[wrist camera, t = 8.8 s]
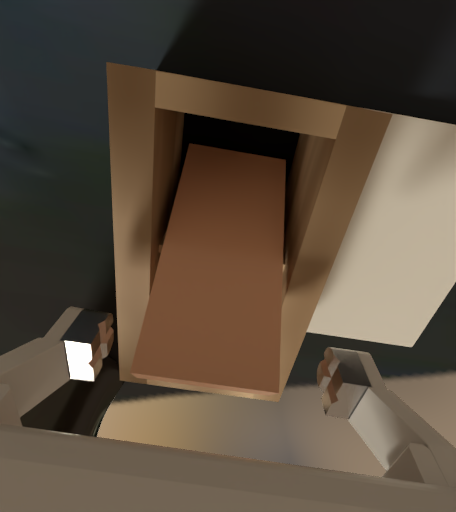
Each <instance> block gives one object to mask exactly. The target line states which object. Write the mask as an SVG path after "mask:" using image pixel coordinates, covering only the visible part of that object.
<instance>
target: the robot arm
mask: <svg viewBox="0 0 456 512" xmlns="http://www.w3.org/2000/svg"><path fill="white" fill-rule="evenodd" d="M112 323H113V315H112V314H111V313H106V312H100V311H94V310H89V309H81V308H76V307H69V308H68V309H66V311H65V312H64V313H63V314H62V315H61V317H60V318H59V319H58V320H57V322H56V323H55V324H54V325H53V327H52V328H51V329H50V330H49V331H48V333H47V334H46V335H45V336H44V338H37V339H35V340H33V341H31V342H29V343H27V344H24V345H22V346H20V347H18V348H16V349H14V350H12V351H10V352H8V353H6V354H4V355H2V356H0V512H456V448H455V447H453V445H451V444H450V443H449V442H448V441H447V440H446V439H445V438H444V437H442V436H441V435H440V434H439V433H438V432H437V431H436V430H435V429H434V428H432V427H431V426H430V425H429V424H428V423H427V422H426V421H425V420H423V419H422V418H421V417H420V416H419V415H418V414H417V413H416V412H414V411H413V410H412V409H411V408H410V407H409V406H408V405H407V404H406V403H405V402H403V401H402V400H401V399H400V398H399V397H398V396H397V395H396V394H394V393H393V392H392V391H390V390H387V388H386V386H385V384H384V382H383V380H382V378H381V376H380V374H379V371H378V369H377V367H376V365H375V363H374V361H373V359H372V357H371V355H370V354H369V353H368V352H361V351H353V350H346V349H339V348H332V347H328V348H327V349H326V351H325V353H324V356H325V359H324V360H323V361H321V362H320V364H319V366H318V370H317V382H318V387H319V388H320V389H321V391H322V392H323V393H324V394H323V396H322V398H321V399H322V403H323V407H324V411H325V415H327V416H332V417H338V418H344V419H349V422H350V423H351V425H352V426H353V427H354V429H355V430H356V431H357V433H358V434H359V435H360V437H361V438H362V439H363V441H364V442H365V443H366V445H367V446H368V447H369V449H370V450H371V451H372V453H373V454H374V455H375V457H376V458H377V459H378V460H379V462H380V463H381V465H382V466H383V467H384V468H385V470H386V473H385V474H384V475H383V476H382V477H377V476H370V475H363V474H356V473H349V472H342V471H335V470H327V469H320V468H313V467H305V466H299V465H291V464H284V463H277V462H270V461H263V460H256V459H249V458H241V457H234V456H227V455H220V454H213V453H206V452H198V451H192V450H185V449H178V448H170V447H163V446H156V445H149V444H142V443H135V442H128V441H120V440H114V439H107V438H99V437H92V436H85V435H78V434H71V433H64V432H57V431H50V430H43V429H36V428H28V427H23V426H22V423H21V420H20V417H21V416H23V415H24V414H25V413H27V412H28V411H29V410H30V409H32V408H33V407H34V406H36V405H37V404H38V403H40V402H41V401H42V400H44V399H45V398H46V397H48V396H49V395H50V394H52V393H53V392H54V391H56V390H57V389H58V388H60V387H61V386H62V385H64V384H65V383H66V382H67V381H69V380H70V379H79V380H87V381H95V379H96V377H97V375H98V373H99V371H100V369H101V368H102V359H103V358H105V357H106V356H108V354H109V352H110V350H111V347H112V344H113V339H114V330H113V329H112V328H111V325H112ZM69 378H70V379H69Z"/></svg>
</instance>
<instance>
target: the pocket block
mask: <svg viewBox="0 0 456 512" xmlns="http://www.w3.org/2000/svg"><path fill="white" fill-rule="evenodd" d="M107 86H108V110H109V134H110V158H111V182H112V206H113V230H114V254H115V278H116V302H117V326H118V350H119V374H120V380H121V381H128V382H136V383H143V384H150V385H158V386H165V387H172V388H180V389H187V390H194V391H202V392H209V393H216V394H224V395H231V396H238V397H246V398H253V399H260V400H269V401H275V402H279V399H280V397H281V394H282V392H283V389H284V387H285V384H286V382H287V379H288V377H289V374H290V372H291V369H292V367H293V364H294V362H295V359H296V357H297V354H298V352H299V349H300V347H301V344H302V341H303V339H304V336H305V334H306V331H307V329H308V326H309V324H310V321H311V319H312V316H313V314H314V311H315V309H316V306H317V304H318V301H319V299H320V296H321V294H322V291H323V289H324V286H325V284H326V281H327V279H328V276H329V273H330V271H331V268H332V266H333V263H334V261H335V258H336V256H337V253H338V251H339V248H340V246H341V243H342V241H343V238H344V236H345V233H346V231H347V228H348V226H349V223H350V221H351V218H352V216H353V213H354V210H355V208H356V205H357V203H358V200H359V198H360V195H361V193H362V190H363V188H364V185H365V183H366V180H367V178H368V175H369V173H370V170H371V168H372V165H373V163H374V160H375V158H376V155H377V153H378V150H379V148H380V145H381V142H382V140H383V137H384V135H385V132H386V130H387V127H388V125H389V122H390V120H391V117H392V115H393V114H389V113H384V112H379V111H374V110H369V109H364V108H359V107H353V106H348V105H343V104H338V103H333V102H327V101H322V100H316V99H311V98H305V97H300V96H294V95H289V94H284V93H278V92H273V91H267V90H262V89H256V88H251V87H245V86H240V85H234V84H229V83H223V82H218V81H212V80H207V79H201V78H196V77H190V76H185V75H179V74H174V73H168V72H163V71H157V70H151V69H145V68H139V67H133V66H127V65H121V64H115V63H109V62H107ZM184 113H190V114H196V115H201V116H207V117H212V118H218V119H224V120H229V121H235V122H241V123H246V124H252V125H258V126H263V127H269V128H275V129H280V130H286V131H292V132H297V133H300V135H299V139H298V143H297V147H296V151H295V154H294V158H293V162H292V166H291V170H290V173H289V177H288V181H287V185H286V189H285V209H284V243H283V277H282V311H281V345H280V379H279V393H278V394H274V395H270V396H266V395H259V394H251V393H244V392H237V391H229V390H222V389H215V388H208V387H200V386H193V385H186V384H178V383H171V382H164V381H156V380H149V379H142V378H137V377H135V376H134V375H132V374H131V373H130V371H131V367H132V363H133V359H134V355H135V351H136V347H137V344H138V340H139V336H140V332H141V328H142V324H143V320H144V317H145V313H146V309H147V305H148V301H149V297H150V293H151V290H152V286H153V282H154V278H155V274H156V270H157V266H158V263H159V259H160V255H161V251H162V247H163V243H164V239H165V236H166V232H167V228H168V224H169V220H170V216H171V213H172V209H173V205H174V201H175V197H176V193H177V189H178V186H179V179H180V166H181V152H182V139H183V126H184Z"/></svg>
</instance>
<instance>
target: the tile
mask: <svg viewBox="0 0 456 512" xmlns="http://www.w3.org/2000/svg"><path fill="white" fill-rule="evenodd" d="M285 175H286V160H284V159H278V158H272V157H266V156H261V155H255V154H249V153H243V152H237V151H232V150H226V149H220V148H214V147H208V146H203V145H197V144H191V143H189V147H188V151H187V155H186V159H185V162H184V166H183V170H182V174H181V178H180V182H179V186H178V189H177V193H176V197H175V201H174V205H173V209H172V213H171V216H170V220H169V224H168V228H167V232H166V236H165V239H164V243H163V247H162V251H161V255H160V259H159V263H158V266H157V270H156V274H155V278H154V282H153V286H152V290H151V293H150V297H149V301H148V305H147V309H146V313H145V317H144V320H143V324H142V328H141V332H140V336H139V340H138V344H137V347H136V351H135V355H134V359H133V363H132V367H131V371H130V373H131V374H132V375H134V376H135V377H137V378H142V379H149V380H156V381H164V382H171V383H178V384H186V385H193V386H200V387H208V388H215V389H222V390H229V391H237V392H244V393H251V394H259V395H266V396H270V395H274V394H278V393H279V379H280V345H281V311H282V277H283V243H284V209H285Z"/></svg>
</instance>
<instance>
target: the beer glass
mask: <svg viewBox="0 0 456 512" xmlns="http://www.w3.org/2000/svg"><path fill="white" fill-rule="evenodd" d="M69 379H70V378H69ZM122 384H123V381H121V380H120V374H119V365H118V364H117V363H116V362H115V361H114V360H113V359H112V358H110V357H109V356H106V357H105V358H103V359H102V368H101V369H100V371H99V373H98V375H97V377H96V379H95V381H87V380H79V379H70V380H69V381H67V382H66V383H65V384H64V385H62V386H61V387H60V388H58V389H57V390H56V391H54V392H53V393H52V394H50V395H49V396H48V397H46V398H45V399H44V400H42V401H41V402H40V403H38V404H37V405H36V406H34V407H33V408H32V409H30V410H29V411H28V412H27V413H25V414H24V415H23V416H21V417H20V420H21V423H22V426H23V427H28V428H36V429H43V430H50V431H57V432H64V433H71V434H78V435H85V436H92V437H97V434H98V431H99V429H100V425H101V422H102V420H103V418H104V415H105V413H106V411H107V409H108V408H109V406H110V404H111V403H112V401H113V399H114V398H115V396H116V395H117V393H118V392H119V390H120V388H121V386H122Z"/></svg>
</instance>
